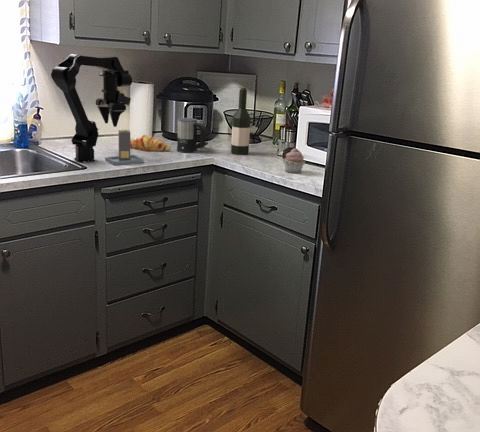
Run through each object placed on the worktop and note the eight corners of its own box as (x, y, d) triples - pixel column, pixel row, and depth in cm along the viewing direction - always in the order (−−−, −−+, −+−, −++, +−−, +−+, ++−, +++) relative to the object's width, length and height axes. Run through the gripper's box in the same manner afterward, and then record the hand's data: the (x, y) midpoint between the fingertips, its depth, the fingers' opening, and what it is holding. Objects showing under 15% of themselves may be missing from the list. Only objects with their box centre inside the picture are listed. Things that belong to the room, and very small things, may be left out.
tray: (114, 165, 226) (113, 161, 226) (105, 160, 233) (105, 157, 233) (143, 162, 233) (143, 159, 233) (134, 158, 240) (134, 155, 240)
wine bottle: (246, 155, 260) (250, 89, 251) (228, 154, 261) (232, 87, 252) (250, 152, 268) (254, 87, 259) (232, 150, 269) (236, 86, 260)
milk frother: (174, 152, 258) (175, 119, 254) (179, 146, 273) (180, 115, 269) (206, 154, 258) (207, 121, 254) (208, 147, 273) (210, 117, 269)
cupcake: (291, 175, 228) (293, 150, 225) (277, 170, 235) (279, 146, 232) (309, 173, 233) (311, 149, 230) (294, 168, 240) (296, 145, 237)
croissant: (171, 157, 263) (174, 141, 265) (167, 151, 254) (170, 134, 255) (127, 153, 265) (130, 136, 267) (121, 146, 256) (124, 129, 257)
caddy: (119, 161, 230) (118, 130, 226) (118, 159, 235) (118, 128, 231) (130, 161, 231) (130, 131, 227) (129, 159, 236) (129, 128, 232)
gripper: (137, 89, 233) (137, 127, 238) (119, 85, 247) (119, 121, 252) (112, 89, 227) (112, 128, 231) (94, 85, 241) (95, 121, 246)
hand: (110, 125), depth 240 cm, fingers open, 9 cm apart
